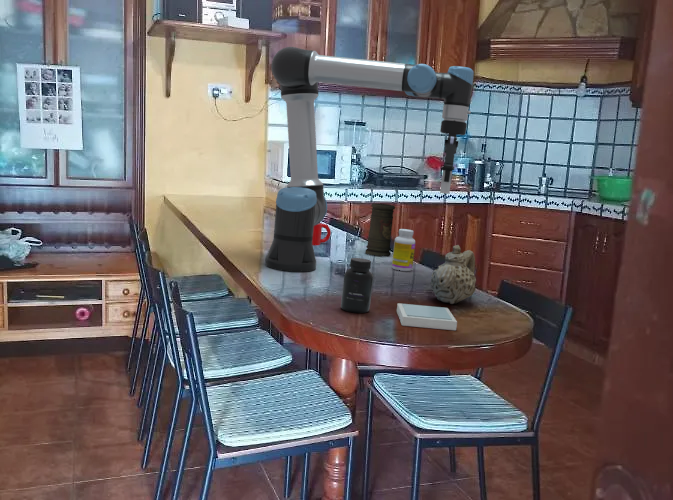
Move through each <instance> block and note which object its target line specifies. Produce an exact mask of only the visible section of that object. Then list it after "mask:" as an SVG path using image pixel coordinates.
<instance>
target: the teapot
mask: <svg viewBox="0 0 673 500" xmlns="http://www.w3.org/2000/svg"><path fill="white" fill-rule="evenodd" d="M461 250H462V249H461V247H460V245H459V244H457V245H453V246H452V251H450V252H448V253H446V254H445V258H444V260H445V261H444V262H443V263H442V264H440V265H438V267H437V268H436V269H434V270H433V272H432V273H431V278H430V285H431V286H432V291H433V293H434V295H435V297H436V300H438V301H439V302H442V303H446V304H450V305H454V304H458V303H460V302H461V301H465V300H466V299H467V298H469V297H471V296H472V295H474V294H475V292H476V282H477V279H476V276H475V271H476V269H475V268H476V256H475V253H474V252H473V251H472V250H470V249H468V250H465V251H463V252H461Z"/></svg>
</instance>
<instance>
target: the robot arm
mask: <svg viewBox="0 0 673 500" xmlns="http://www.w3.org/2000/svg"><path fill="white" fill-rule="evenodd" d="M270 67H271V73H272V76H273V78H274V79H275V81H276V82H277V83H279V85H280V86H279V87H280V97H281V99H282V100H283V101H284V102H285V103H286V104H285V105H286V119H287V133H288V134H287V135H288V153H289V167H290V169H289V171H290V180H289V182H288V183H287V184H286V187H282V188H281V189H279V190H278V191H277V194H276V195H277V196H276V199H275V216H274V227H273V228H274V230H273V239H272V242H271V245H270V247H269V249H268V252H267V254H266V256H265V266H266V267H268V268H271V269H274V270H279V271H284V272H285V271H286V272H296V273H297V272H298V273H299V272H302V273H304V272H311V271H315V270H316V268H317V259H316V254H315V250H314V245H312V239H313V229H314V226H316V225H317V224H319V223H322V221H323V220H324V218H326V217H325V216H326V215H327V212H328V202H327V199H326V197H325V193H324V183H323V182H322V181H321V180H320V179H319V170H318V153H317V134H316V118H315V116H316V115H315V101H316V99H317V98H318V97H319V83H322V84H330V85H339V86H349V87H358V88H368V89H378V90H379V89H380V90H387V91H388V90H390V91H397V92H399V91H400V92H404V93H405V95H407V96H409V97H410V96H411V97H415V98H418V97H419V98H431V99H440V100H444V101H443V107H442V115H441V119H443V120H442V121H441V123H440V131H439V132H440V133H441V134H445V135H447V134H448V136H447V139H445V140H444V154H445V156H444V157H445V159H444V164H443V166H441V169H440V171H442V176H441V183H440V189H439V190H440V191H439V193H440V194H446V195H447V194H449V195H450V191H451V186H452V178H453V171H455V167H454V160H455V159H454V158H455V155H456V154H457V149H458V147H459V140H458V137H457V135H458V136H466V132H467V127H468V126H467V125H468V123H467V121H468V119H469V116H468V115H471V113H472V112H471V110H469V109H470V104H471V98H472V97H471V96H472V92H473V90H472V89H473V84H474V75H475V72H474V70H473V69H472V68H470V67H466V66H459V65H453V66H449V68H448V70H447V72H437V71H435V69H433V67H432V66H430V65H429V64H425V63H417V64H412V63H400V62H393V61H382V60H371V59H362V58H352V57H342V56H332V55H322V54H319V53H318V52H317V50H311V49H304V48H299V47H296V46H295V47H294V46H287V47H283V48H282V49H279V50H278V51H277V52H276V53H275V55H273V58H272V61H271V65H270Z"/></svg>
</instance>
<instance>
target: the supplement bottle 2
mask: <svg viewBox="0 0 673 500" xmlns="http://www.w3.org/2000/svg"><path fill="white" fill-rule="evenodd" d="M413 236H414V230H412V229H406V228H399V230H398V236H396V237H395V238H394V241H393V242H394V244H393V250H392V251H393V253H392V261H391V268H392V269H393V270H396V271H399V270H400V272H410V271H413V266H414V259H415V257H414V256H415V248H416V240H415V238H413Z"/></svg>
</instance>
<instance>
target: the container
mask: <svg viewBox="0 0 673 500" xmlns="http://www.w3.org/2000/svg"><path fill="white" fill-rule="evenodd" d="M370 207H371V213H370V214H371V215H370V222H369V223H370V225H369V231H368V233H369V234H368V238H367V244H366V246H365V247H366V249H365V251H364V252H365V254H366V255H368V254H369V256H373V255H375V256H374V257H382V256H387V257H390V256H391V253H392V252H391V241H392V239H391V238H392V232H393V231H392V230H393V229H392V228H393V219H394V210H395V209H396V206H395V205H394V204H393V205H392V204H387V203H371V206H370Z"/></svg>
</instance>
